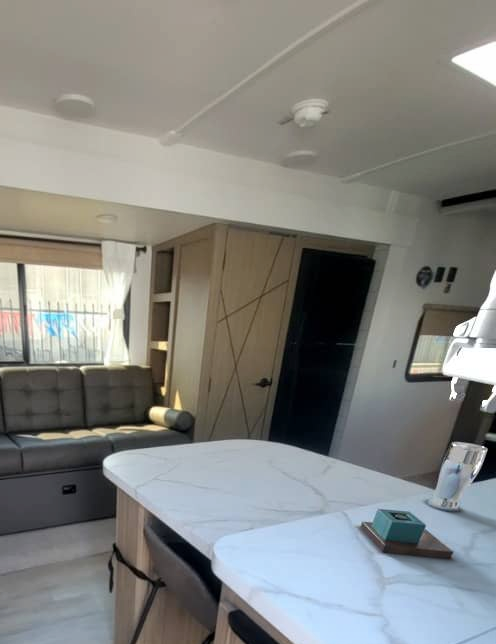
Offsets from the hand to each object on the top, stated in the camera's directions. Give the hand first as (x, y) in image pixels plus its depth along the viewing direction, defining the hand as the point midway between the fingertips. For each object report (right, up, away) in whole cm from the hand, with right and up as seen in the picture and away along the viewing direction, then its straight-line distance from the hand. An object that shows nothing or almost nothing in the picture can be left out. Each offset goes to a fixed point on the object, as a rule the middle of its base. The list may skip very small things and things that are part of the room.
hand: (470, 406), depth 79 cm
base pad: (-13, -27, +1) cm, 30 cm away
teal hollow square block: (-15, -25, +1) cm, 29 cm away
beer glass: (+10, -19, +19) cm, 29 cm away
